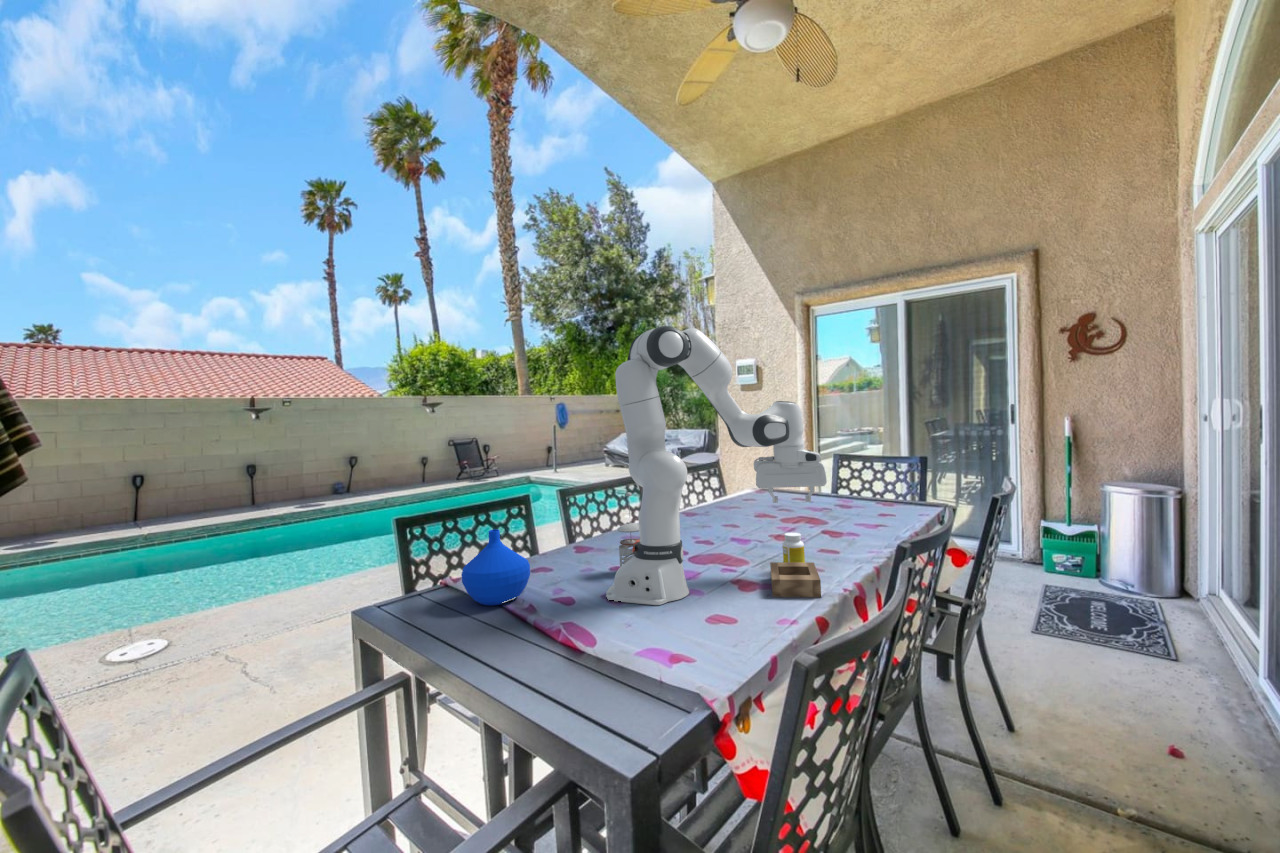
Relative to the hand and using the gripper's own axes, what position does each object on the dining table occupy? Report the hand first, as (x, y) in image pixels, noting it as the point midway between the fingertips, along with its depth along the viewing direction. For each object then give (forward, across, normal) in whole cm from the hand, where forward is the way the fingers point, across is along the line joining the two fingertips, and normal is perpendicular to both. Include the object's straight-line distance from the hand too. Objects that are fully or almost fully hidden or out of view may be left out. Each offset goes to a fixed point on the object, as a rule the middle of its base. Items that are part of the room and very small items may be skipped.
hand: (791, 502), depth 162 cm
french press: (+20, -48, -2) cm, 52 cm away
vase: (+20, -81, -29) cm, 89 cm away
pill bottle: (+21, 0, 0) cm, 21 cm away
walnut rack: (+20, -1, -15) cm, 25 cm away
